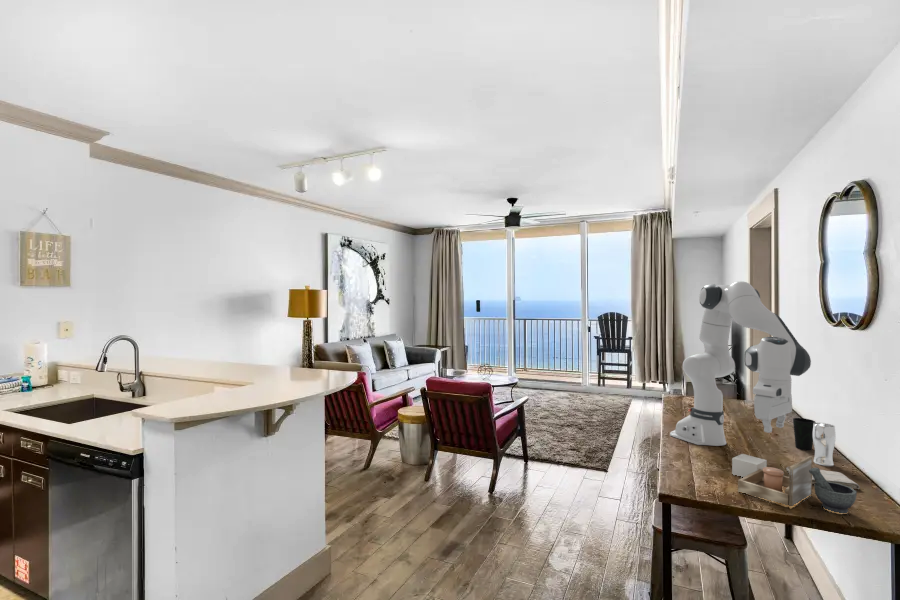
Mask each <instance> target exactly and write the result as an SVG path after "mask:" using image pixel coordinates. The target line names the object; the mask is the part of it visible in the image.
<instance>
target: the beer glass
mask: <svg viewBox="0 0 900 600" xmlns="http://www.w3.org/2000/svg"><path fill="white" fill-rule="evenodd" d="M812 436H813V447H814V457H813V463H814V464H816V465H820V466H823V467H834V461H833V460H834V459H833V453H834V449H835V445H836V440H837V439H836V426H835V425H834V424H830V423H825V422H816V423H813V433H812Z"/></svg>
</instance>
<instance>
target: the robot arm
mask: <svg viewBox="0 0 900 600" xmlns="http://www.w3.org/2000/svg"><path fill="white" fill-rule="evenodd" d="M698 297H699V304H700V305H701V307H702V308H704V312H703V316H702V320H701V324H700V325H701V326H700V333H699V339H700V341H701V343H703V346H704V348H703V349H704V352H703V353H695V354H693V355H690V356H687V357H686V358H685V359H684V360H683V362H682V370H683V373H684V374H685V375H686V376H687V377H688V378H689V380H690V382H691V385H692V387H693V398H694V399H693V405H694V406H693V407H691V408H689V409H687V410H688V412H689V414H688V415H687V416H685V417H684V418H682V419H680V420H678V421H677V423H676V424H675V429H674V430H672V431H670V432H669V436H670V437H673V438H676V439H679V440H682V441H685V442H688V443H690V444H694V445H698V446H712V447H713V446H716V447H719V446H725V445H727V440H726V436H725V431H724V421H725V412H724V410H723V409H724V408H723V406H724V404H723V403H724V401H723V400H724V399H723V398H724V395H723V392H722V390H721V389H719V388H718V386H717V382H716V379H717V378H724V377H727V376H728V375H731V374H732V373H733V372H734V371H735V369H736V363H735V360H734V358H733V357H732V356H731V354H730V348H729V339H730V333H731V328H732V320H733V322H735V324H737V325H739V326H741V327H743V328H746V329H752V330H756V331H760V332H763V333H766V334H768V335H770V336H767V337H763V338H761V339H760V342H759V343H758V344H754V345H750V346H749V347H748V348H746V350H745V351H744V366H745V367H746V368H747V369H748V370H749V371H751V372H754V373H757V374H758V373H759V374H758V381H757V382H756V384H755V385H754V386H753V388H752V394H753V395H754V398H753V399H754V400H753V405H754V406H753V407H754V409H753V410H754V416H755V418H756V419H758V420H761V422H762V425H763V432H764V433H768V434H770V433H772V432H773V426H772V420H774V419H776V422H775V427H776V428H780V429H782V428H784V427H785V421H786V418H787V415H788V414H789V413H791V412H792V410H793V398H792V397H793V396H792V376H795V377H796V376H797V377H800V376H802V375H803V374H805V373H806V372H807V371H808V370H809V369H810V368H811V365H812V360H811V356H810V354H809V352H808V351H807V350H806V349H805V348H804V347H803V346H802V345H801V344H800V343H799V342H798V340H797V339H796V338H795V336H794V335H793V333H792V332H791V330H790V329H789V328H788V326H787V324H786V323H785V322H784V321H783V319H782V318H781V317H780V316H779V315H778V314H777V313H775V312H773V311H772V310H770V309H768V308H767V307H766V305H764V304H763V302H762V299H761V295H760V292H759V291H758V290H757V288H754V287H753V285H752V284H750V283H749V282H747V281H742V280H740V281H735V282H733V283H731V284H715V283H714V284H713V283H712V284H706V285H704V286H703V287H702V288H701V290H700V292H699V296H698Z"/></svg>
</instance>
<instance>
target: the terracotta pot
mask: <svg viewBox="0 0 900 600" xmlns="http://www.w3.org/2000/svg"><path fill="white" fill-rule="evenodd" d="M763 472H764V487H766V488H770V489H773V490H776V491H780V492H782V480H783V476H785V473H784V470H782V469H780V468H777V467H770V466H767V467H764V468H763Z"/></svg>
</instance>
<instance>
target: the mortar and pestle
mask: <svg viewBox="0 0 900 600" xmlns="http://www.w3.org/2000/svg"><path fill="white" fill-rule="evenodd" d="M820 470H821V469H820V468H819V467H812V469H810V470H809V472H810V473H811V474H812V476H813V477H814V479H815V481H816V483H815V484H814V485H813V486H814V488H813V489H814V492H815V493H814V494H815V496H816V498H817V500H819V501H820V502H821V507H822V506H823V507H824V508H825V509H828V510H831V511H834V512H839V513H847V512H848V513H849V509H850V508H851V507H852V506H853V505H854V504H855V502H856V501H857V496H858V495H857V494H858V491H857V490H854V489H852V488H851V487H848V486H845V485H842V484H838V483H833V482H827V481H826V479H825V478H824V477H823V475H822V474H821V472H820Z"/></svg>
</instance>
